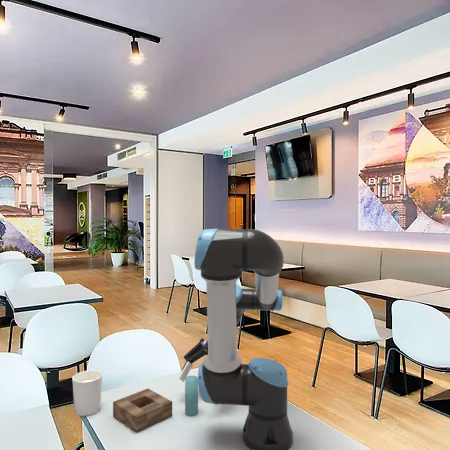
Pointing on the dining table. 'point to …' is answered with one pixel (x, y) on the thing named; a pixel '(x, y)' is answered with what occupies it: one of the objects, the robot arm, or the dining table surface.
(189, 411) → the teal peg
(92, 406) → the candle holder
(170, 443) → the dining table surface
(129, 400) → the walnut block
